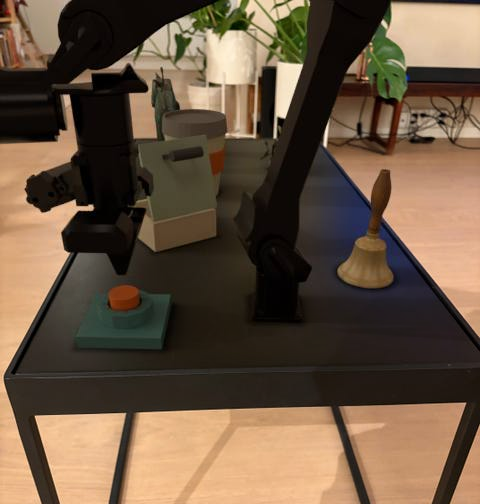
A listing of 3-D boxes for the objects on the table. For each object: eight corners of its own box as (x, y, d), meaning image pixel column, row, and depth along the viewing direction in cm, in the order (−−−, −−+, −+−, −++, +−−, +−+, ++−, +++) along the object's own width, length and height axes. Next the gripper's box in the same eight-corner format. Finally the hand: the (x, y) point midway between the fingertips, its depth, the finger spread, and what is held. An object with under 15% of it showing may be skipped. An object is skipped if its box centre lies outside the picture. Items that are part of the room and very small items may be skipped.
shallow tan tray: (127, 229, 90) (124, 203, 87) (185, 216, 96) (184, 190, 93) (155, 252, 83) (153, 224, 80) (216, 236, 88) (216, 209, 86)
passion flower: (298, 195, 121) (309, 163, 110) (253, 184, 121) (260, 150, 110) (306, 157, 125) (318, 122, 114) (262, 146, 125) (270, 110, 114)
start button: (137, 312, 62) (135, 300, 61) (107, 312, 62) (105, 299, 61) (142, 297, 65) (141, 285, 64) (113, 296, 65) (112, 284, 64)
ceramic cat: (154, 148, 132) (148, 61, 121) (179, 148, 133) (175, 61, 122) (158, 173, 116) (151, 75, 105) (186, 172, 117) (183, 75, 106)
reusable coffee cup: (238, 196, 104) (240, 119, 96) (182, 208, 99) (179, 126, 90) (208, 179, 113) (207, 106, 105) (155, 188, 107) (150, 112, 99)
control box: (161, 349, 61) (160, 325, 59) (77, 348, 61) (73, 323, 59) (171, 305, 70) (170, 282, 68) (97, 303, 70) (94, 280, 68)
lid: (136, 145, 76) (150, 142, 72) (203, 134, 82) (219, 132, 78) (151, 221, 80) (165, 223, 76) (215, 207, 86) (231, 207, 82)
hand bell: (384, 262, 81) (404, 161, 72) (400, 289, 74) (424, 180, 66) (332, 262, 81) (346, 160, 72) (343, 289, 74) (359, 180, 65)
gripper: (54, 117, 60) (75, 239, 69) (-12, 165, 45) (26, 315, 54) (149, 119, 61) (158, 241, 69) (116, 168, 45) (134, 317, 54)
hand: (122, 273), depth 61 cm, fingers closed
